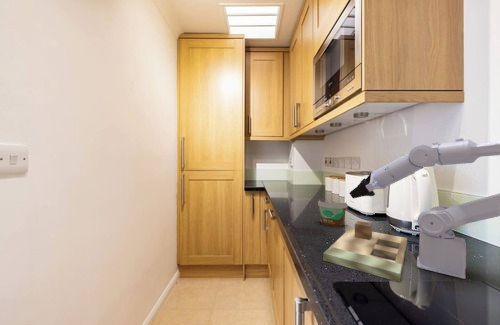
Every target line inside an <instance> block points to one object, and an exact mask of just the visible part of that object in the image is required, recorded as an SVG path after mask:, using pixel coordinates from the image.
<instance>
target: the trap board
mask: <svg viewBox="0 0 500 325" xmlns="http://www.w3.org/2000/svg"><path fill="white" fill-rule="evenodd" d="M407 247H408V237H403V236H398V235H397V236H396V235H392V234H387V233H382V232H376V231H372V237H371V238H370V240H366V239H362V238H357V237H355V227H349V229H347V230H346V231H345V232H344V233H343V234H342V235H341V236H340V237H339V238H338V239H337V240H336V241H335V242H334V243H332V244H331V246H330V247H329V248H327V249H326V250H325V251H324V252H323V254H322V255H323V256H322V257H323V258H322V259H323V260H322V261H324V262H328V263H331V264H334V265H337V266H342V267H344V268H349V269H351V270H356V271H359V272H362V273H365V274H369V275H373V276H376V277H380V278H383V279H386V280H387V279H388V280H390V281H394V282H398V283H400V281H401V278H402V277H401V276H402V272H403V268H404V267H403V266H404V261H405V257H406V251H407Z"/></svg>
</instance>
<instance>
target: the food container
mask: <svg viewBox="0 0 500 325" xmlns="http://www.w3.org/2000/svg"><path fill="white" fill-rule="evenodd" d="M317 205H318V207H319V218H320V223H321V225H323V226H325V225H326V227H331V228H340V227H343V226H344V225H345V216H346V209H347V208H348V203H347V202H343V203H342V202H341V203H339V202H335V201H321V199H319V200H318V201H317Z"/></svg>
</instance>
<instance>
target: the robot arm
mask: <svg viewBox="0 0 500 325" xmlns="http://www.w3.org/2000/svg"><path fill="white" fill-rule="evenodd" d="M492 156H493V157H495V156H496V157H497V156H500V140H497V141H490V142H489V141H488V142H483V143H482V142H481V143H477V142H475V141H473V140H471V139H464V138H463V137H460V138H456V139H455V141H449V142H442V143H440V142H439V143H438V142H432V143H431V145H428V144H420V145H417V146H414V147H413V148H411V150H410V151H409V152H408V153H406V154H404V155H403V156H400V157H397V158H396V159H395V160H393V161H391V162H388V163H387V164H385V165H383V166H380V168H378V169H376V170H375V168H373V167H371V169H369V170H368V171H369V172H370V173H369V174H368V176H367V177H366V178H363V179H362V180H361V181H360V182H359V184H357V186H356V187H355V188H353V189H352V190H350V191H349V193H348V194H349V195H350V197H351V198H352V199H357V198H361V197H374V196H375V195H376V193H375V192H374V190H385V189H386V188H387V187H389V186H390V185H393V184H396V183H397V182H398V181H402V180H403V179H405V178H408V177H409V176H412V175H414V174H415V173H416V172H418V171H420V170H422V169H424V168H426V167H428V168H429V167H434V166H436V164H437V165H439V166H448V165H450V166H451V165H463V164H464V165H465V164H473V163H475V162H476V160H477V159H479V158H481V157H492ZM497 217H500V193H497V194H492V195H488V196H486V197H485V196H484V197H482V198H478V199H475V200H471V201H467V202H463V203H460V204H454V205H451V206H434V207H432V208H429V209H428V210H424V211H423V212H421V213H420V214H419V215H418V217H417V225H418V227H419V228H420V229H419V246H418V248H419V250H418V255H417V258H416V267H417V268H418V269H421V270H427V271H431V272H434V273H438V274H441V275H442V274H443V275H447V276H451V277H455V278H459V279H464V280H465V279H466V269H467V243H466V239H465V238H463V237H458V236H456V234H455V233H454V231H453V229H455V228H458V227H461V226H466V225H467V224H471V223H475V222H480V221H484V220H489V219H494V218H497Z"/></svg>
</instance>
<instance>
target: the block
mask: <svg viewBox="0 0 500 325" xmlns="http://www.w3.org/2000/svg"><path fill="white" fill-rule="evenodd" d="M354 228H355V237H357V238H362V239H366V240H370V238H371V237H372V232H373V223H371V222H365V221H359V220H357V221H356V222H355V223H354Z"/></svg>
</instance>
